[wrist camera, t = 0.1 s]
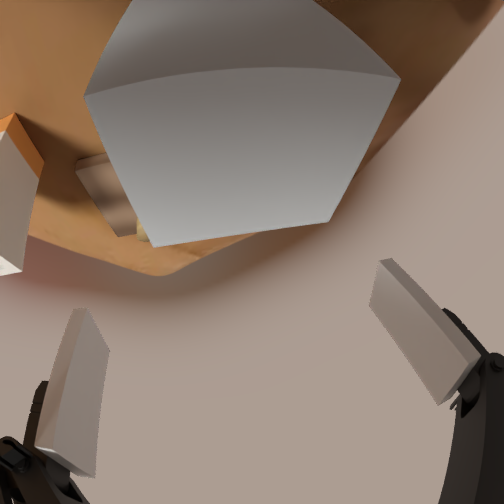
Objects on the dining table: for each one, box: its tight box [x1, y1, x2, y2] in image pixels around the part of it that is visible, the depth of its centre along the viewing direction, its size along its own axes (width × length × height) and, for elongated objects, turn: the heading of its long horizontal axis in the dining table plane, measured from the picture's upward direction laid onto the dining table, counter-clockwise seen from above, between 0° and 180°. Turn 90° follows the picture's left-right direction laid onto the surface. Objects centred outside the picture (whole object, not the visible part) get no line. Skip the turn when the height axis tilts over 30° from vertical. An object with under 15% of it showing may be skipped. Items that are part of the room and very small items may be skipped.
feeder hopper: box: [83, 0, 401, 247], centre depth 12 cm, size 8×8×12 cm
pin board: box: [75, 153, 150, 242], centre depth 26 cm, size 12×18×5 cm, turn 87°
